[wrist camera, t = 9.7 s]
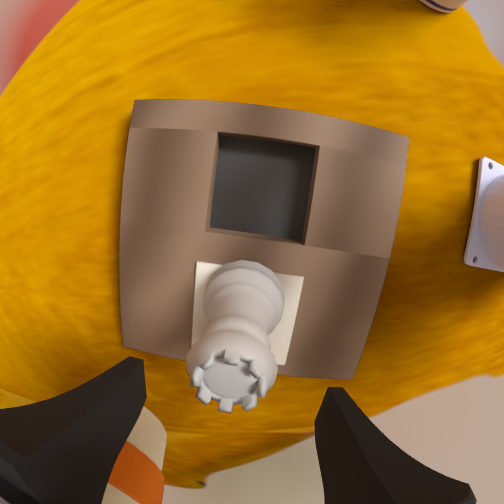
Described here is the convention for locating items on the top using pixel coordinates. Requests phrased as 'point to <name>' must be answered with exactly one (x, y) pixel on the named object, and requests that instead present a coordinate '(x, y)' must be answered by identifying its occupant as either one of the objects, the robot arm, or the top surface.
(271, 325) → the rook chess piece
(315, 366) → the hole board
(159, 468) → the reusable coffee cup
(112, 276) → the top surface
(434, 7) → the energy drink
